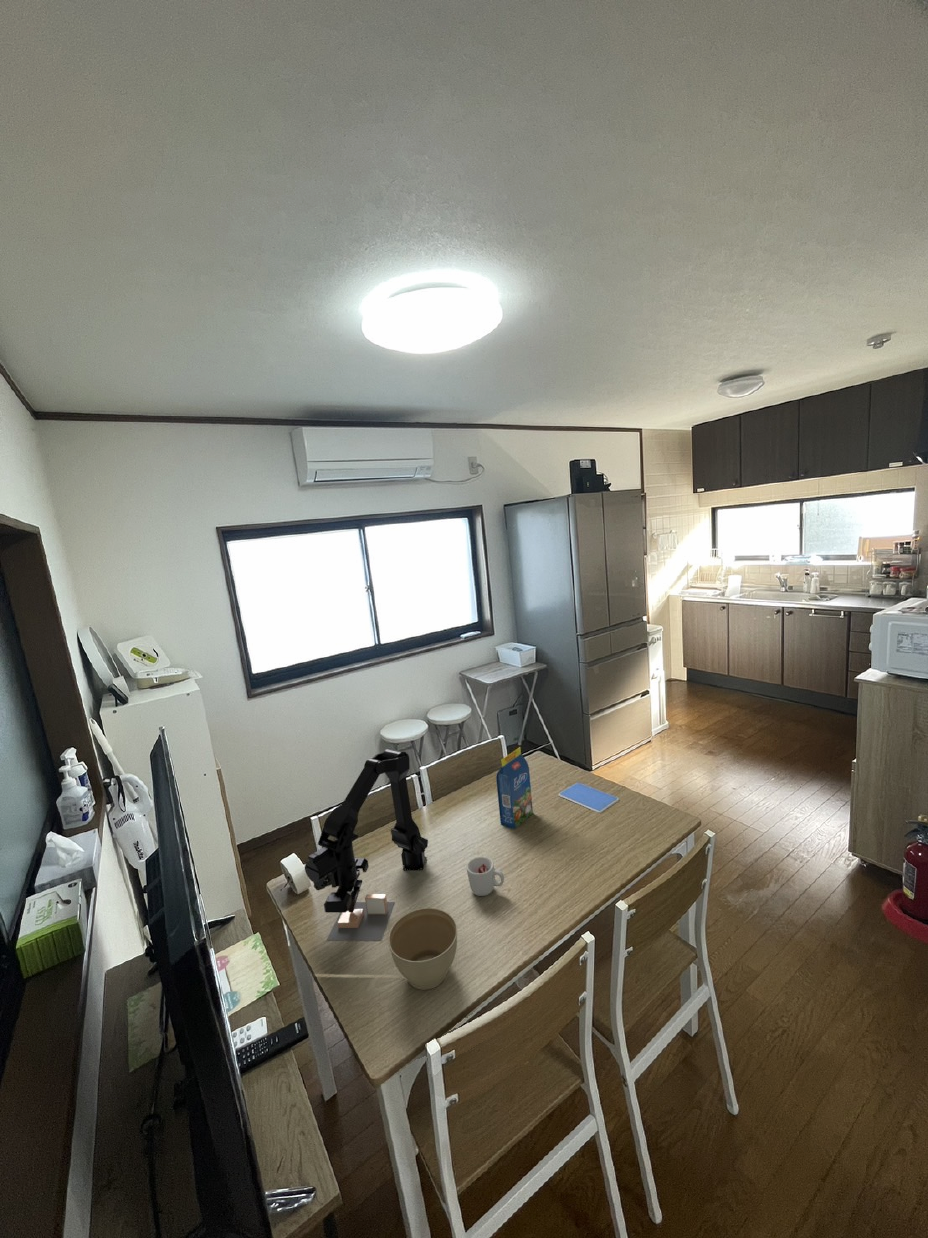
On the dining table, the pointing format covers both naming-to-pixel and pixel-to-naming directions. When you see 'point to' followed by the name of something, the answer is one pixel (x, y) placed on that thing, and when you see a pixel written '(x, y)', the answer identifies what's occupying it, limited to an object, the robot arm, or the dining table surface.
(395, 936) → the planter bowl
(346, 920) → the tile
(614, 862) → the dining table surface
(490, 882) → the cup
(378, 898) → the tile
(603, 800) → the tablet computer
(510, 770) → the blue food package
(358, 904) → the mat
